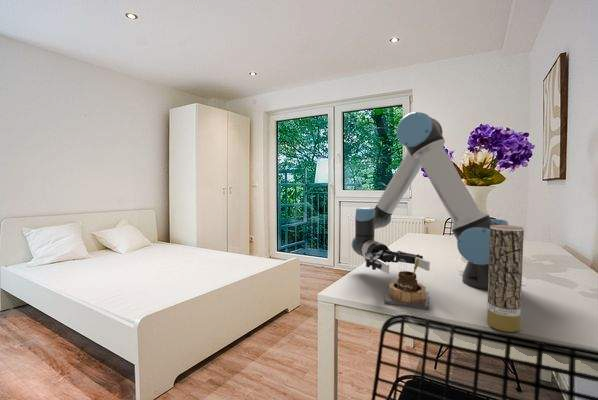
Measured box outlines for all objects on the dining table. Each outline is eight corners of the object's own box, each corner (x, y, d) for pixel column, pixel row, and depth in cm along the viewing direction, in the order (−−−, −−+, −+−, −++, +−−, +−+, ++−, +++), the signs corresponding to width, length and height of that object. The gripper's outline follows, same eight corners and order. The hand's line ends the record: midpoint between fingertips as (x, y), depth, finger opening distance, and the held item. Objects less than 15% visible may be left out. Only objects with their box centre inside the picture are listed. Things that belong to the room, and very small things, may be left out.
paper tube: (525, 335, 72) (529, 229, 71) (493, 332, 73) (497, 228, 72) (511, 322, 79) (515, 225, 77) (482, 319, 80) (485, 224, 79)
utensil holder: (402, 291, 99) (403, 254, 98) (421, 296, 94) (422, 257, 93) (393, 295, 94) (393, 257, 94) (412, 301, 90) (413, 261, 89)
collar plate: (428, 295, 97) (428, 283, 97) (428, 310, 86) (428, 296, 86) (389, 290, 102) (389, 278, 102) (384, 303, 91) (384, 290, 91)
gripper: (406, 260, 116) (444, 277, 96) (344, 264, 111) (370, 283, 90) (406, 240, 116) (444, 253, 95) (344, 243, 110) (370, 257, 90)
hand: (408, 267), depth 93 cm, fingers open, 13 cm apart
